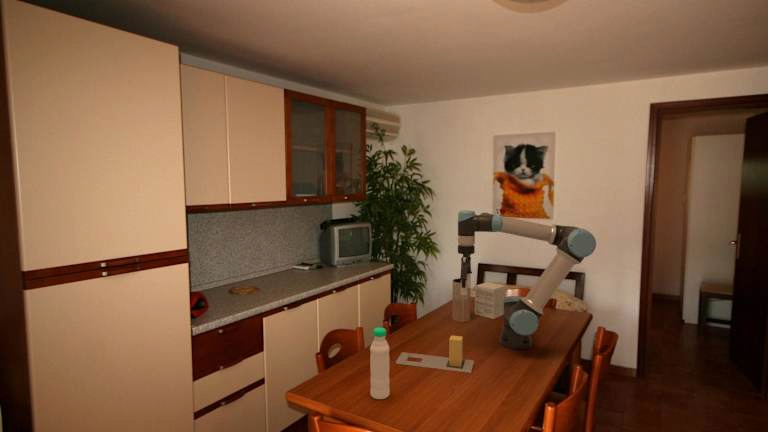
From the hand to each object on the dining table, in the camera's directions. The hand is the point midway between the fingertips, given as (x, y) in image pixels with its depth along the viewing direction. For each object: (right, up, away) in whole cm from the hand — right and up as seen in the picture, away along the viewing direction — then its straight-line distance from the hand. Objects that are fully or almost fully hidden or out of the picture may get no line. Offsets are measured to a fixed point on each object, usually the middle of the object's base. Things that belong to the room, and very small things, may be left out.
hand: (465, 291), depth 199 cm
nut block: (-7, -30, -12) cm, 33 cm away
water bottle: (-39, -32, -38) cm, 63 cm away
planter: (+7, -25, +50) cm, 57 cm away
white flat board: (-15, -30, -10) cm, 35 cm away
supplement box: (+26, -24, +60) cm, 70 cm away
